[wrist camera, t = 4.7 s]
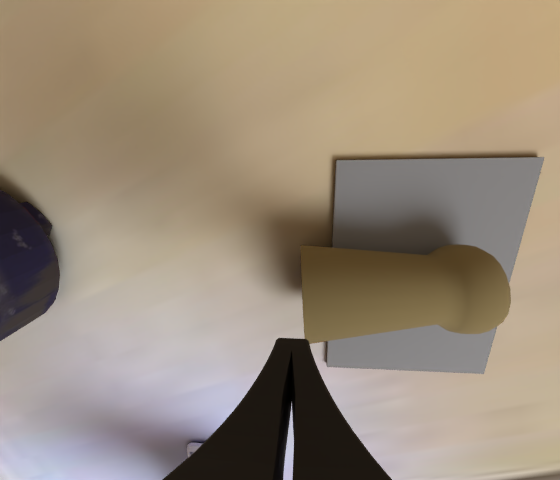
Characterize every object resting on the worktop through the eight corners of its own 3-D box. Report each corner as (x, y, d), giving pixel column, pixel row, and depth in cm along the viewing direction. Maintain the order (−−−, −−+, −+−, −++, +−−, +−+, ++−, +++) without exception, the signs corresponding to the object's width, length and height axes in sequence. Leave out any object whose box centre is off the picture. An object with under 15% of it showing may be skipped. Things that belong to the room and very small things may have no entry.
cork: (306, 367, 14) (529, 366, 13) (300, 256, 13) (540, 246, 12) (305, 316, 20) (459, 313, 19) (301, 237, 19) (463, 229, 18)
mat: (480, 369, 21) (483, 373, 21) (326, 363, 22) (326, 366, 22) (538, 157, 16) (544, 157, 16) (335, 160, 17) (336, 160, 17)
